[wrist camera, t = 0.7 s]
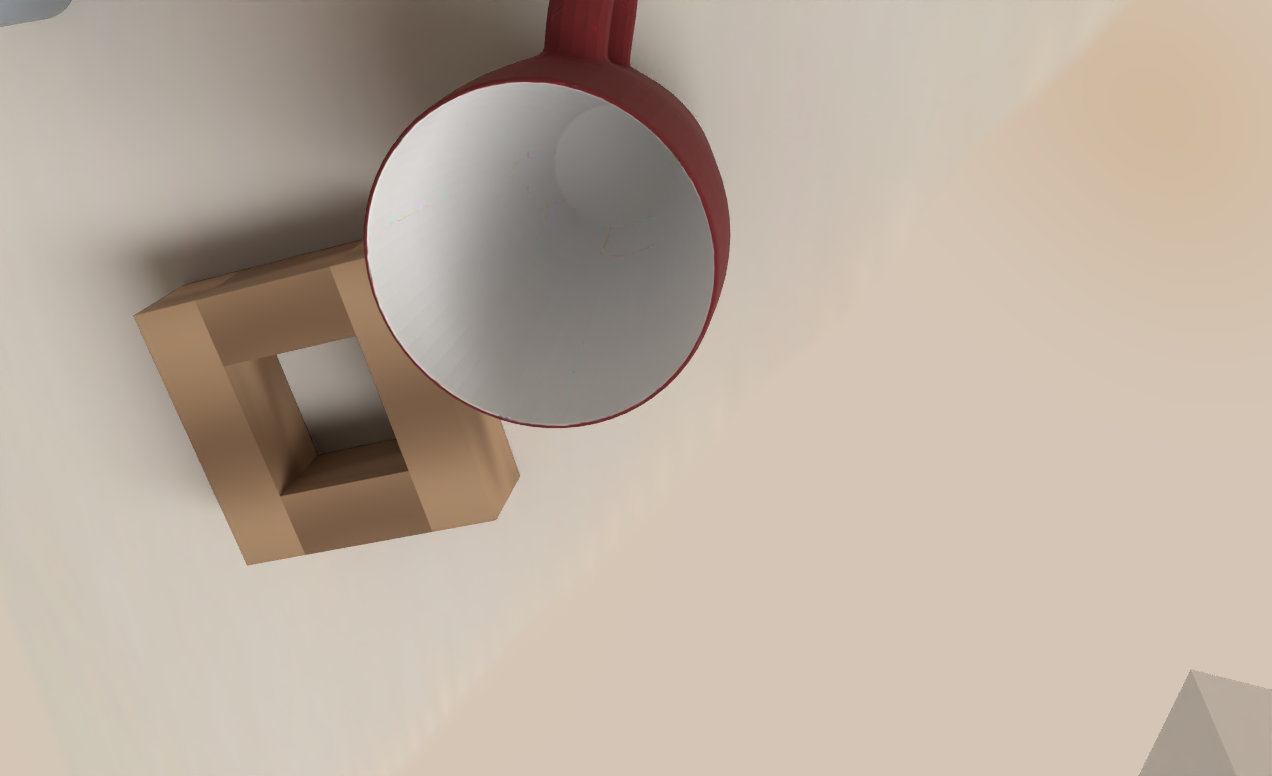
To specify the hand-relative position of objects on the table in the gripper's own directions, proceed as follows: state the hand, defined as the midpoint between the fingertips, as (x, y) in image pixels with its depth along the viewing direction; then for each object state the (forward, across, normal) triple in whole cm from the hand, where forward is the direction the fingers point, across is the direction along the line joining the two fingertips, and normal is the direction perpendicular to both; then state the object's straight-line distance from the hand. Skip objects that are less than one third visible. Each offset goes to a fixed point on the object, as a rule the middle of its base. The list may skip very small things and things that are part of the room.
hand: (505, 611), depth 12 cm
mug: (+25, -3, 0) cm, 25 cm away
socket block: (+24, -10, -11) cm, 29 cm away
